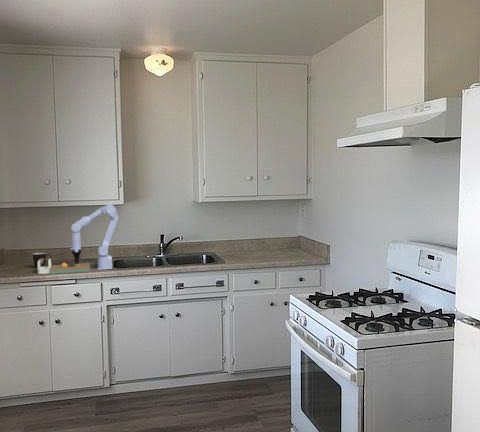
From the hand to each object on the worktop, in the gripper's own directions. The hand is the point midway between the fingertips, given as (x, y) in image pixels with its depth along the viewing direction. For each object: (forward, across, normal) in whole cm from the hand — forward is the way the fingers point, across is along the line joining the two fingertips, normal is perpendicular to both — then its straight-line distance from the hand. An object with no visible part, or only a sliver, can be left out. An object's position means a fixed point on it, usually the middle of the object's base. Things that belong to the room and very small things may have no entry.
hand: (76, 261), depth 337 cm
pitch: (+6, 0, -8) cm, 10 cm away
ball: (+2, 0, -8) cm, 8 cm away
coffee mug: (+6, -20, -23) cm, 31 cm away
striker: (+4, 0, 0) cm, 4 cm away
